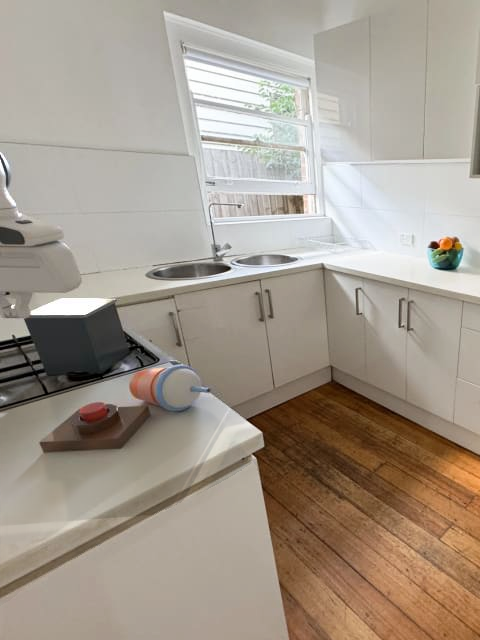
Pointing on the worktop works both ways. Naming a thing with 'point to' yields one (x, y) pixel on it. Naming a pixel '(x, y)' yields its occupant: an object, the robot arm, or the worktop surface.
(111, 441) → the block
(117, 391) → the worktop surface
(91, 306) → the box lid
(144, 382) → the cup with straw
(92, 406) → the button
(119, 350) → the grey bin
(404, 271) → the worktop surface
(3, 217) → the robot arm
